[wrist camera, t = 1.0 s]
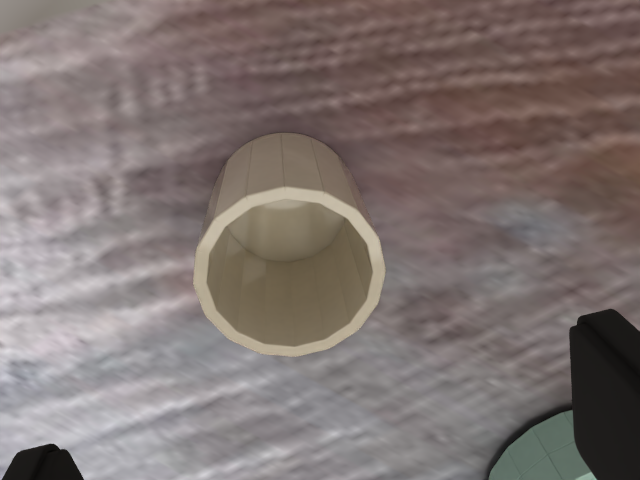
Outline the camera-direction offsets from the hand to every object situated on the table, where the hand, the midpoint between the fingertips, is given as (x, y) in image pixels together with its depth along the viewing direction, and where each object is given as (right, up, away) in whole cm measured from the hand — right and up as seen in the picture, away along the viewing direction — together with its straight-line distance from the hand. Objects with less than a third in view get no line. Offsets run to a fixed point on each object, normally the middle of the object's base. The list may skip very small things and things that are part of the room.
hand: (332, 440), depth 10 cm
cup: (-2, +6, +18) cm, 19 cm away
